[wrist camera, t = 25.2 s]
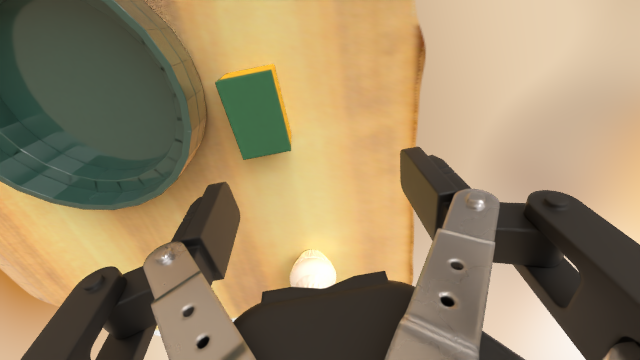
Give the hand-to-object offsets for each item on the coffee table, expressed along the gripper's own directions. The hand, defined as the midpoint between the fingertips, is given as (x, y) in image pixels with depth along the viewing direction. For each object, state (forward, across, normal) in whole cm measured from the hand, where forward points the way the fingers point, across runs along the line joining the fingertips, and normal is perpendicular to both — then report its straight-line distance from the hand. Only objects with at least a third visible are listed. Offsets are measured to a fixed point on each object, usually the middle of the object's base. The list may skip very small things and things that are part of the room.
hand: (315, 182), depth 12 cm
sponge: (+16, +5, 0) cm, 17 cm away
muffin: (+16, +4, +22) cm, 28 cm away
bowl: (+16, +19, -4) cm, 25 cm away
